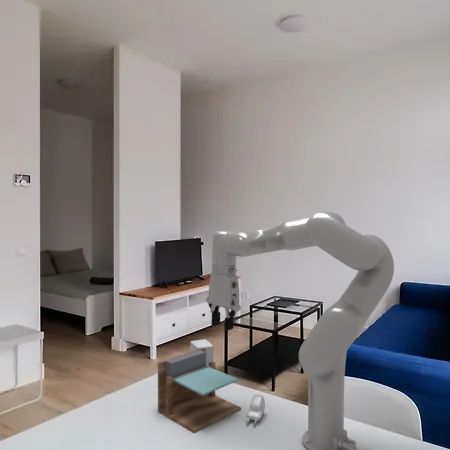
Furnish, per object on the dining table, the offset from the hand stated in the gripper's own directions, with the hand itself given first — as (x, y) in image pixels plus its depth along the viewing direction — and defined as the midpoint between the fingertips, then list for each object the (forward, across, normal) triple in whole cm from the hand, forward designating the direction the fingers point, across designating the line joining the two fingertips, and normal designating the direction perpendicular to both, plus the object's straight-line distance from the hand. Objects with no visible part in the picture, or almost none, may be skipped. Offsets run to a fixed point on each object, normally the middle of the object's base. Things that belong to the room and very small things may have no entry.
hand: (222, 326), depth 126 cm
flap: (+18, +11, +3) cm, 21 cm away
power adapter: (+28, -10, -7) cm, 30 cm away
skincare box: (+29, +22, -11) cm, 38 cm away
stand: (+28, +6, +3) cm, 29 cm away
